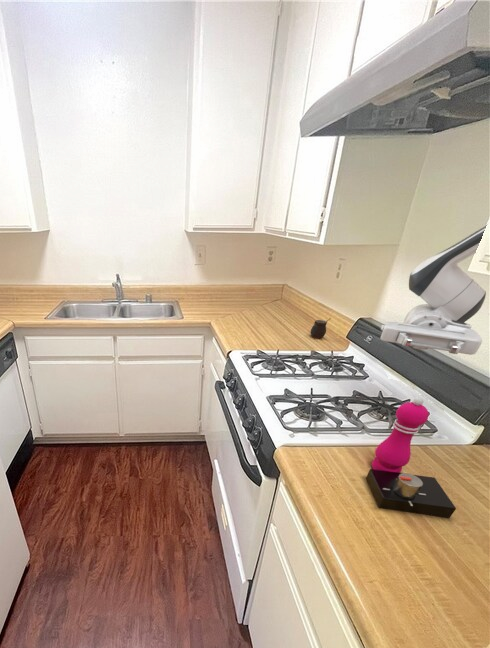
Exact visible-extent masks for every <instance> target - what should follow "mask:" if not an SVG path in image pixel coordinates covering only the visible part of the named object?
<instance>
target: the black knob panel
mask: <svg viewBox="0 0 490 648" xmlns="http://www.w3.org/2000/svg"><path fill="white" fill-rule="evenodd" d="M402 473H403V472H400V473H397V472H389V471H381V470H374V469H373V468H370V469H369V470H368V472H367V474H366V477H365V480H366V483H367V484H368V487H369V489H370V491H371V494H372V496H373V498H374V501H375V504H376V505H377V508H378V509H383V510H390V511H395V512H396V511H397V512H402V513H403V512H404V513H410V514H416V515H424V516H432V517H438V518H445V519H450V518H451V517H452V516H453V514H454V512H455V511H456V510H457V507H456V506H455V504H454V503H453V501H452V500H451V499H450V497H449V496H448V494H447V493H446V491H445V490H444V489H443V487H442V486H441V484H440V483H439V481H438V480H437V479H436V477H434V476H427V475H419V474H413V475H414V476H416V477H418V478H419V479H420V480H421V481H422V482H423V485H422V487H421V488H420V490H419V492H418V494H417V495H416V497H415V498H413V499H406V498H403V497H401V496H399V495H397V494H396V493H395V492H394V491H393V486H394V484H395V482H396V480H397V478H398V476H399V475H400V474H402Z"/></svg>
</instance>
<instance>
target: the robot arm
mask: <svg viewBox="0 0 490 648" xmlns="http://www.w3.org/2000/svg"><path fill="white" fill-rule="evenodd" d="M487 225H488V224H486V225H485V226H482V227H481V228H480V229H478V230H476V231H475V232H472V233H471V234H469V235H468V236H466V237H464V238H463V239H461V240H459V241H457V242H456V243H455V244H453V245H451V246H450V247H448V248H445V249H444V250H442V251H440V252H438V253H437V254H434V255H433V256H431V257H429V258H427V259H425V260H423V261H422V262H421V263H419V264H418V265H417V266H416V267H415V268H414V269H413V270H412V271H411V272H410V274H409V276H408V277H409V278H408V289H409V291H411V292H412V294H415V295H416V296H417V297H420V298H421V299H422V300H423V301H424V302H425V303H423V304H418V305H416V306H413V307H412V308H411V309H410V310H409V311H408V312H407V313H406V315H405V317H404V320H403V322H399V321H388V322H386V323H385V324H382V325H380V331H381V335H380V337H379V339H380V340H381V341H383V342H386V343H387V342H388V343H395V344H400V345H402V346H403V347H409V348H410V347H412V348H413V349H416V350H438V351H443V352H448V353H449V354H451V355H452V354H453V355H458V354H462V355H463V354H464V355H469V356H472V355H475V354H476V353H478V351H479V349H480V348H481V345H482V343H483V338H482V337H481V335H480V334H479V333H478V332H477V331H475V330H474V329H472V327H473V326H472V325H471V324H470V323H467V321H469V320H470V319H471V318H473V316H475V315H476V314H477V313H478V312H479V311H480V310H481V308H482V306H483V304H484V302H485V299H486V295H487V290H485V289H484V288H483V287H482V286H481V285H480V284H479V283H478V282H476V280H474V279H473V278H472V277H470V276H469V275H468V273H467V272H465V271H464V270H463V269H462V268H461V267H460V266H459V265H458V264H459V263H461V262H463V261H464V260H466V259H468V258H470V257H472V256H474V255H475V254H477V253H476V250H477V248H478V246H479V243H480V241H481V239H482V236H483V233H484V231H485V229H486V226H487Z"/></svg>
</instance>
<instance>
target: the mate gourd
mask: <svg viewBox="0 0 490 648" xmlns="http://www.w3.org/2000/svg"><path fill="white" fill-rule="evenodd" d="M330 320H331V317H330V318H328V319H327V320H323V319H316V320H314V324H313V325H312V327H311V329H310V336H311V337H312V338H313V339H322V338H323V337H325V335H326V334H327V323H328V322H329V321H330Z"/></svg>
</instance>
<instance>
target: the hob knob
mask: <svg viewBox="0 0 490 648" xmlns="http://www.w3.org/2000/svg"><path fill="white" fill-rule="evenodd" d="M401 473H402V474H400V475H399V476H398V478H397V480H396V482H395V484H394V486H393V491H394V492H395V493H396V494H397V495H399V496H401V497H403V498H406V499H413V498H415V497H416V495H417V494H418V492H419V490H420V488H421V487H422V485H423V482H422V481H421V480H420V479H419V478H418V477H416V476H414V475H415V474H412V473H407V472H401Z"/></svg>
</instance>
